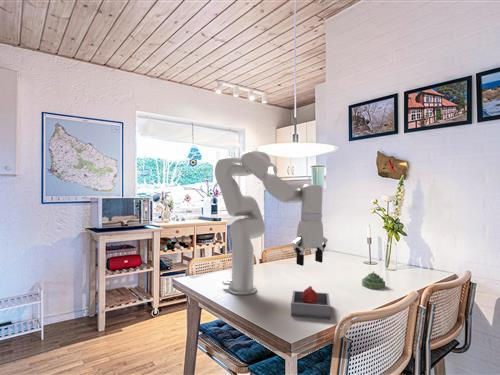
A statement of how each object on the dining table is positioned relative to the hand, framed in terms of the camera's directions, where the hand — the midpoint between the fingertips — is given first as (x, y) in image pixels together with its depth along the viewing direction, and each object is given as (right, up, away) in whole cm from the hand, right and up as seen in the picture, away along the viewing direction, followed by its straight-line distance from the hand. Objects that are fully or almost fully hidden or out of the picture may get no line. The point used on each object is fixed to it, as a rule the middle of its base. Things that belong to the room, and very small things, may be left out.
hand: (309, 263), depth 117 cm
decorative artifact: (+35, -18, +29) cm, 49 cm away
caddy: (0, -17, 0) cm, 17 cm away
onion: (0, -17, 0) cm, 17 cm away
